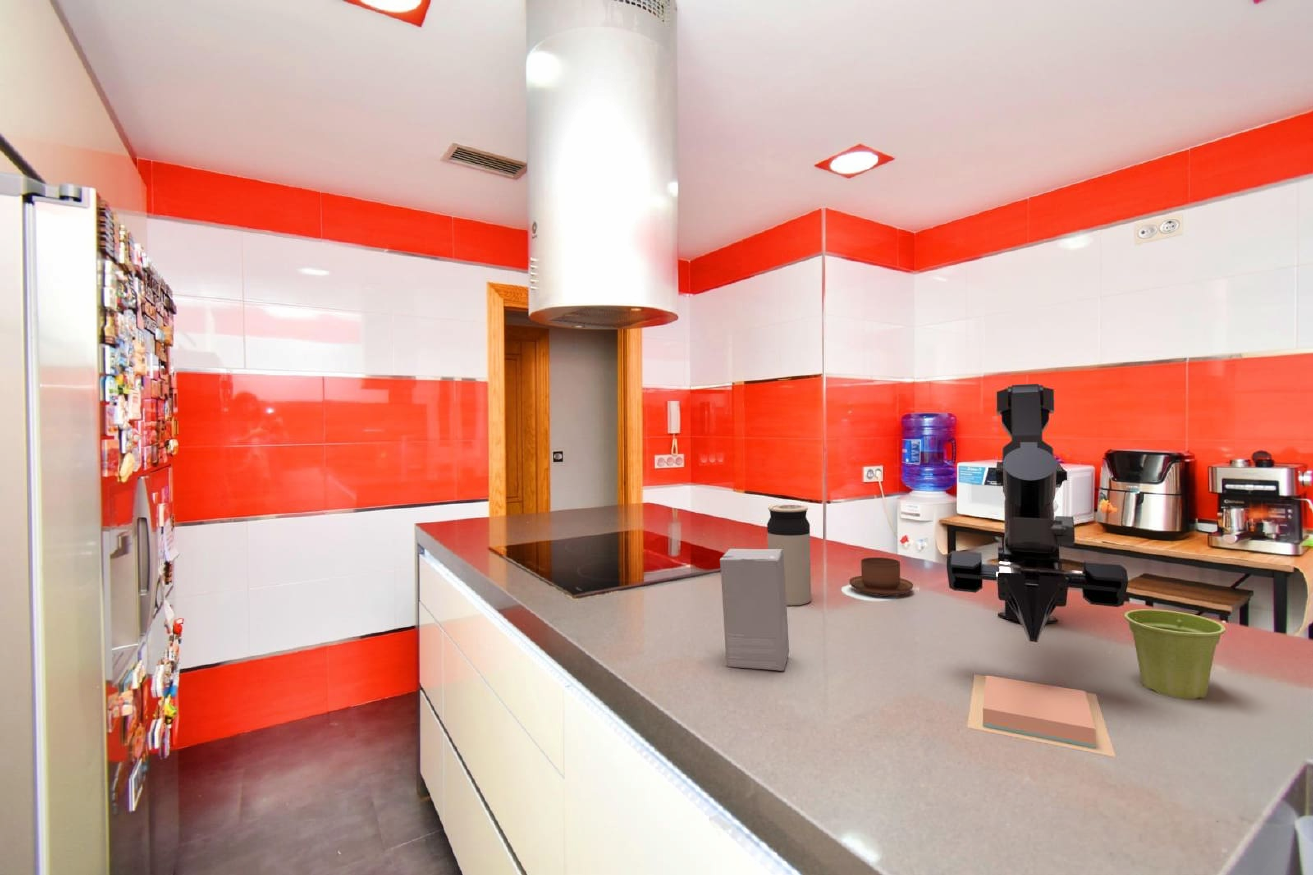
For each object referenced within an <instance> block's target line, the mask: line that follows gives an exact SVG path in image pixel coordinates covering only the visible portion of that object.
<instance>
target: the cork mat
mask: <svg viewBox="0 0 1313 875" xmlns="http://www.w3.org/2000/svg"><path fill="white" fill-rule="evenodd" d="M985 681H986V675H979V674H974V677H973V685H972V690H971V698H970V705H969V713H968V719H967V720H968V721H967V727H966V728H967V729H972V730H977V731H982V732H987V733H991V734H997V735H1001V736H1006V737H1007V736H1008V737H1012V738H1016V739H1022V740H1027V741H1032V742H1036V743H1041V744H1042V743H1043V744H1047V745H1051V746H1055V747H1060V748H1065V749H1066V748H1067V749H1070V750H1071V749H1072V750H1077V751H1082V752H1085V753H1090V754H1091V753H1092V754H1097V755H1100V756H1101V755H1102V756H1107V757H1112V758H1116V754H1115V751H1114V748H1113V745H1112V744H1113V743H1112V742H1111V738H1110V735H1109V733H1108V729H1107V725H1106V722H1105V719H1104V715H1103V713H1102V710H1101V706H1100V704H1099V699H1098V698H1097V694H1096V693H1091V692H1090V693H1089V692H1085V693H1086V697H1087V700H1088V704H1089V708H1090V711H1091V715H1092V718H1093V722H1094V726H1095V735H1096V749H1095V748H1090V747H1085V746H1080V745H1075V744H1070V743H1065V742H1060V741H1054V740H1049V739H1044V738H1039V737H1034V736H1029V735H1024V734H1019V733H1014V732H1009V731H1004V730H999V729H994V728H989V727H984V726H983V702H984V691H985Z"/></svg>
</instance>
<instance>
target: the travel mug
mask: <svg viewBox="0 0 1313 875" xmlns="http://www.w3.org/2000/svg"><path fill="white" fill-rule="evenodd" d="M767 509H768V510H769V514H770V515H769V516H770V517H769V519H768V522H767V523H766V529H767V530H766V531H767V534H766V536H767V549H783V556H784V572H785V589H786V605H787V606H789V607H790V606H791V607H795V606H803V605H806V604H808V603H810V602H811V601H812V576H811V573H812V570H811V528H810V527H811V525H810V522H809V520H808V518H807V512H808V510H809V507H808V506H806V505H801V504H776V505H775V504H774V505H768V507H767Z"/></svg>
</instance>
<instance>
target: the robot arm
mask: <svg viewBox="0 0 1313 875" xmlns="http://www.w3.org/2000/svg"><path fill="white" fill-rule="evenodd" d="M1054 412H1055V389H1053V388H1048V387H1045V386H1044V385H1043V384H1039V383H1024V384H1012V385H1011V386H1007V388H1004V389H1002V390H998V391H996V415H997V416H1001V427H1002V428H1003V429H1004V431H1005V432H1006V434H1008V436H1009V437H1010V439H1011V441H1010V442H1008V443H1007V444H1005V446H1003V447H1002V453H1001V454H1002V456H1001V457H1002V458H1001V459H1002V460H1001V461H997V462H996V469H995V478H996V481H995V482H996V486H997V487H1002V492H1003V495H1004V498H1005V499H1004V502H1003V503H1004V508H1003V509H1004V511H1003V512H1004V534H1003V536H1002V546H997V565H996V564H986V563H983V560H982V558H983V557H982V552H974V551H973V552H972V551H961V550H960V551H958V550H952V551H951V552H949V553H948V554H947V555H946V556H947V557H946V572H947V573H946V574H947V579H948V580H947V582H948V588H949V589H951V590H952V591H956V592H965V593H966V592H967V593H977V592H979V591H981V590H982V589H983V584H984V581H988V582H996V585H997V598H998V599H999V600H1000V601H1003V602H1004V611H1002V612H998V613H997V616H998V617H1001V618H1002V619H1006V620H1009V621H1012V622H1016V623H1020V625H1021V626H1022V629H1023V631H1024V633H1025V635H1026V637H1027V639H1028V641H1029V642H1034V643H1038V642H1039V640H1040V637H1041V635H1042V632H1043V630H1044V629H1045V628H1044V627H1045V625H1047V624H1052V623H1057V622H1059V618H1058V617H1054V616H1051V615H1052V614H1053V612H1054V611H1055V610H1056V608H1058V607H1060V608H1063V607H1066V605H1067V602H1068V590H1069V588H1070V589H1071V588H1072V589H1081V590H1082V591H1081V593H1082V598H1083V600H1084V601H1086V602H1088V604H1090V605H1092V606H1093V605H1094V606H1105V607H1114V608H1119V607H1123V606H1124V605H1125V600H1126V595H1127V591H1128V587H1129V578H1128V570H1127V569H1126V568H1125V567H1124V566H1123V565H1122V564H1121V563H1120V562H1112V561H1099V560H1083V561H1084V563H1083V570H1082V571H1081V570H1070V569H1063V560H1062V559H1061V557H1060V556H1061V555H1060V546H1063V547H1064V546H1065V547H1066V546H1067V547H1073V546H1074V545H1075V541H1076V539H1075V538H1076V536H1075V534H1076V533H1075V532H1076V530H1075V521H1074V520H1075V519H1074V516H1067V515H1066V516H1064V515H1056V516H1055V509H1054V508H1055V506H1054V500H1055V498H1056V489H1058V488H1061V487H1062V485H1063V483H1064V481H1065V482H1066V481H1068V471H1067V470H1065V469H1064V468H1063V466H1061V462H1057V459H1056V458H1055V453H1054V448H1053V446H1051V445H1050V444H1048V443H1047V442H1045V441H1044V440H1043V433H1044V431H1045V430H1046V429H1047V427H1048V426H1049V421H1050V415H1051V414H1054Z"/></svg>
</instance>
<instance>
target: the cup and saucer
mask: <svg viewBox="0 0 1313 875" xmlns="http://www.w3.org/2000/svg"><path fill="white" fill-rule="evenodd" d="M860 564H861V565H860V566H861V567H860V568H861V569H860V570H861V575H859V576H854V577H852V578H850V579H849V581H848V582H849V585H850V586H851V587H853V589H854V590H857V591H859V592H862V593H864V594H868V595H873V596H885V597H886V596H900V595H903V594H906V593H908V592H910V591H911V590H913V588H914V583H913V582H911V581H910V580H909V579H908V580H907V579H905V578H901V562H900V560H897V559H894V558H889V557H876V556H875V557H865V558H862V559H861V560H860Z"/></svg>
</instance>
